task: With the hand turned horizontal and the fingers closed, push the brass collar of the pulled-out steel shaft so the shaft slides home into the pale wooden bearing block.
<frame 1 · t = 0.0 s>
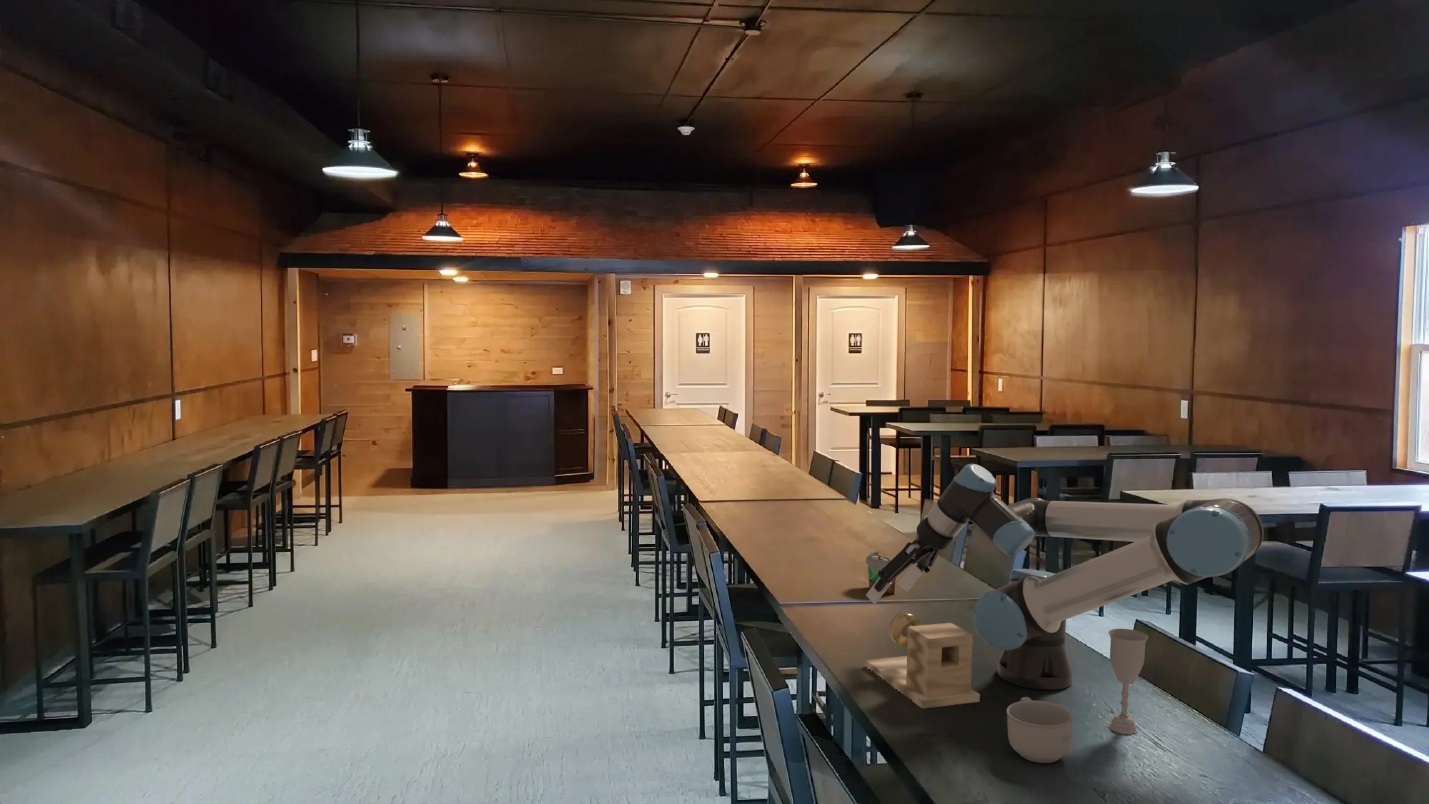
hand: (887, 593, 208), 15 cm above the table, tool tilted 35°, fingers open, 13 cm apart
chalice: (1123, 729, 175), on the table
shaft: (917, 636, 196), point 10 cm above the table, slide at 8.0 cm
teacup: (1036, 752, 164), on the table
food container: (876, 591, 267), on the table
bearing stand: (917, 681, 197), on the table
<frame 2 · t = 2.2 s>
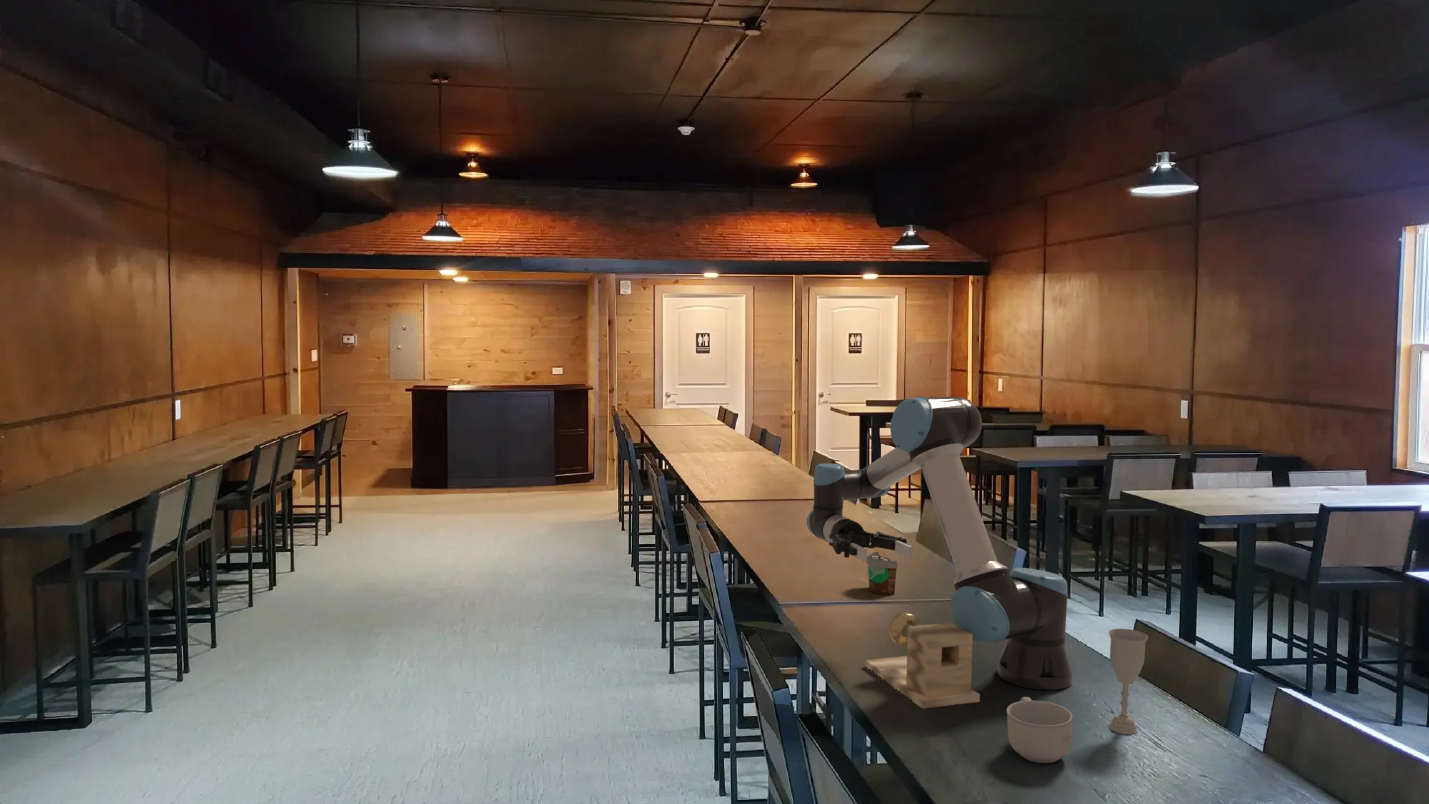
hand: (888, 554, 208), 24 cm above the table, tool horizontal, fingers open, 11 cm apart
nothing on the table moved.
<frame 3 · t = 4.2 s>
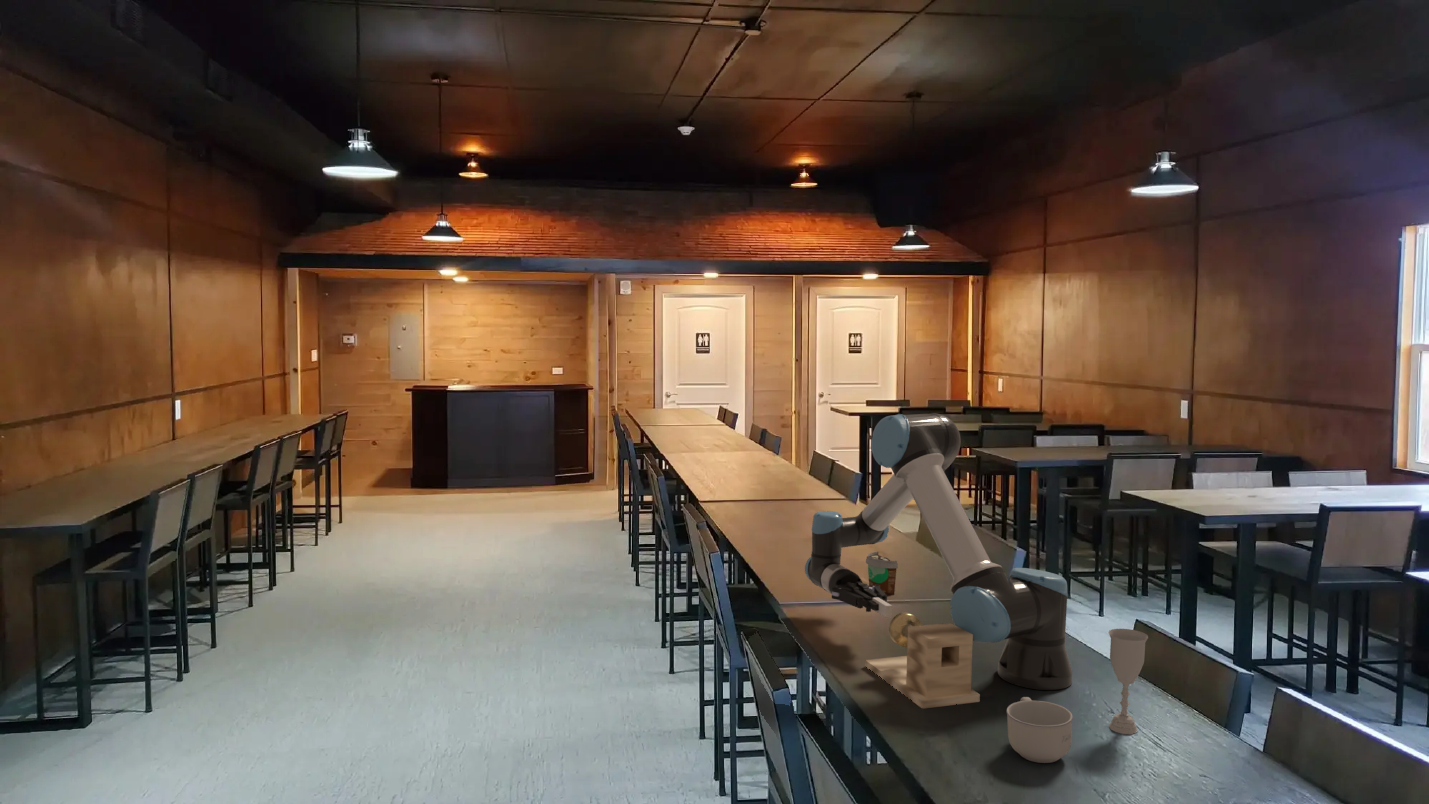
hand: (888, 611, 208), 11 cm above the table, tool horizontal, fingers closed
nothing on the table moved.
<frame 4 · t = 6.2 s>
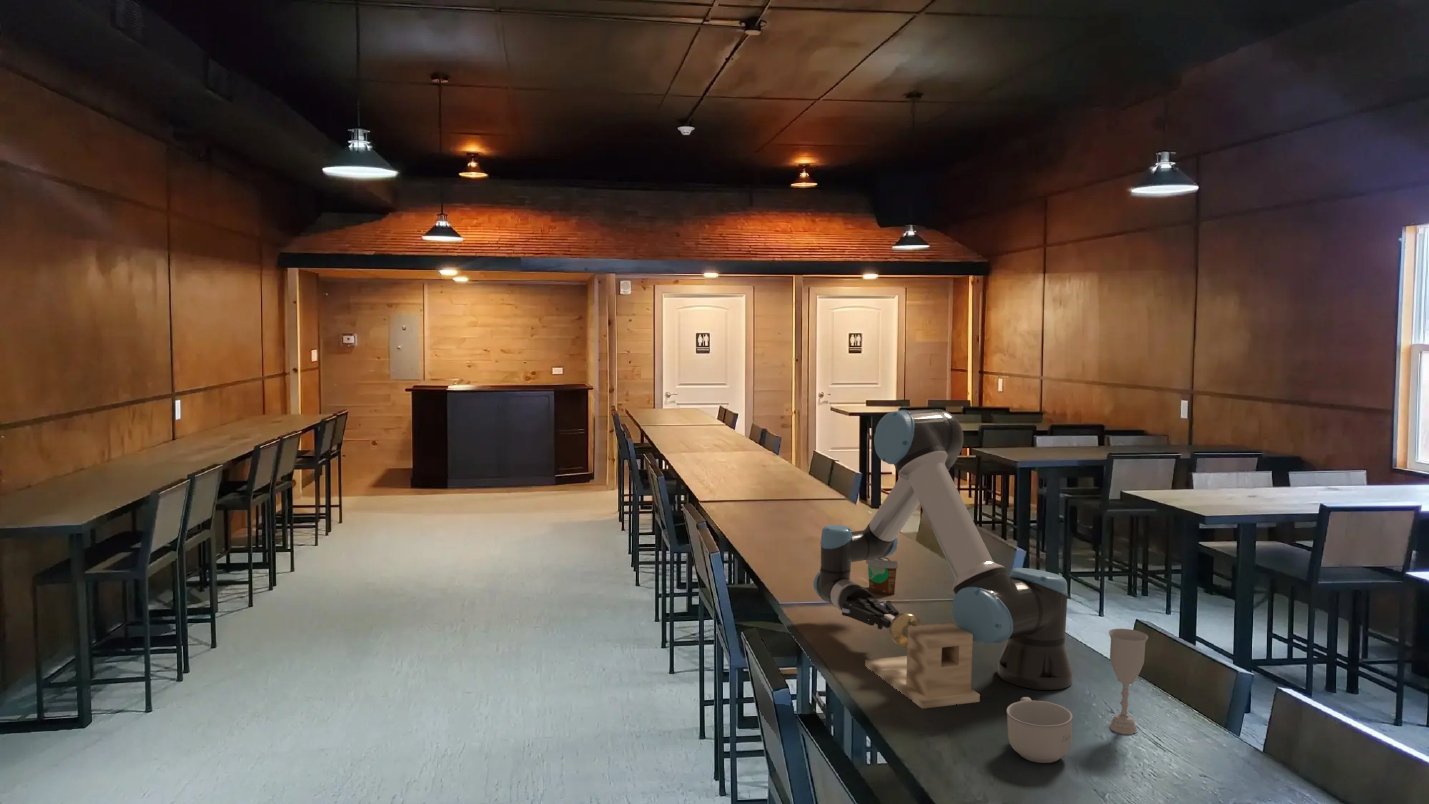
hand: (901, 628, 202), 9 cm above the table, tool horizontal, fingers closed
shaft: (918, 637, 196), point 10 cm above the table, slide at 7.7 cm, touching gripper
everything else where it was.
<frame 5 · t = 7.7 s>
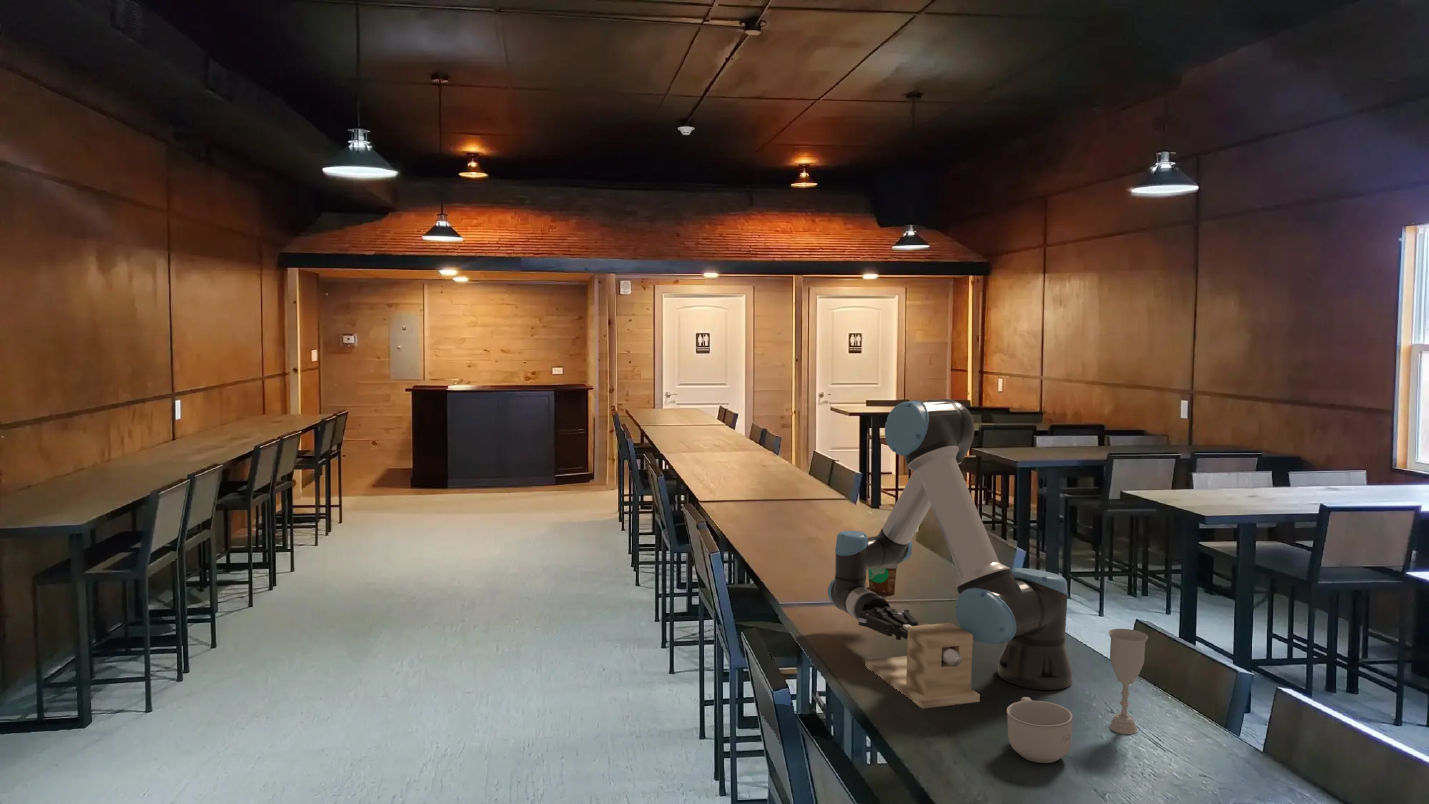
hand: (921, 640, 195), 9 cm above the table, tool horizontal, fingers closed
shaft: (938, 649, 189), point 10 cm above the table, slide at -0.2 cm, touching gripper
everything else where it was.
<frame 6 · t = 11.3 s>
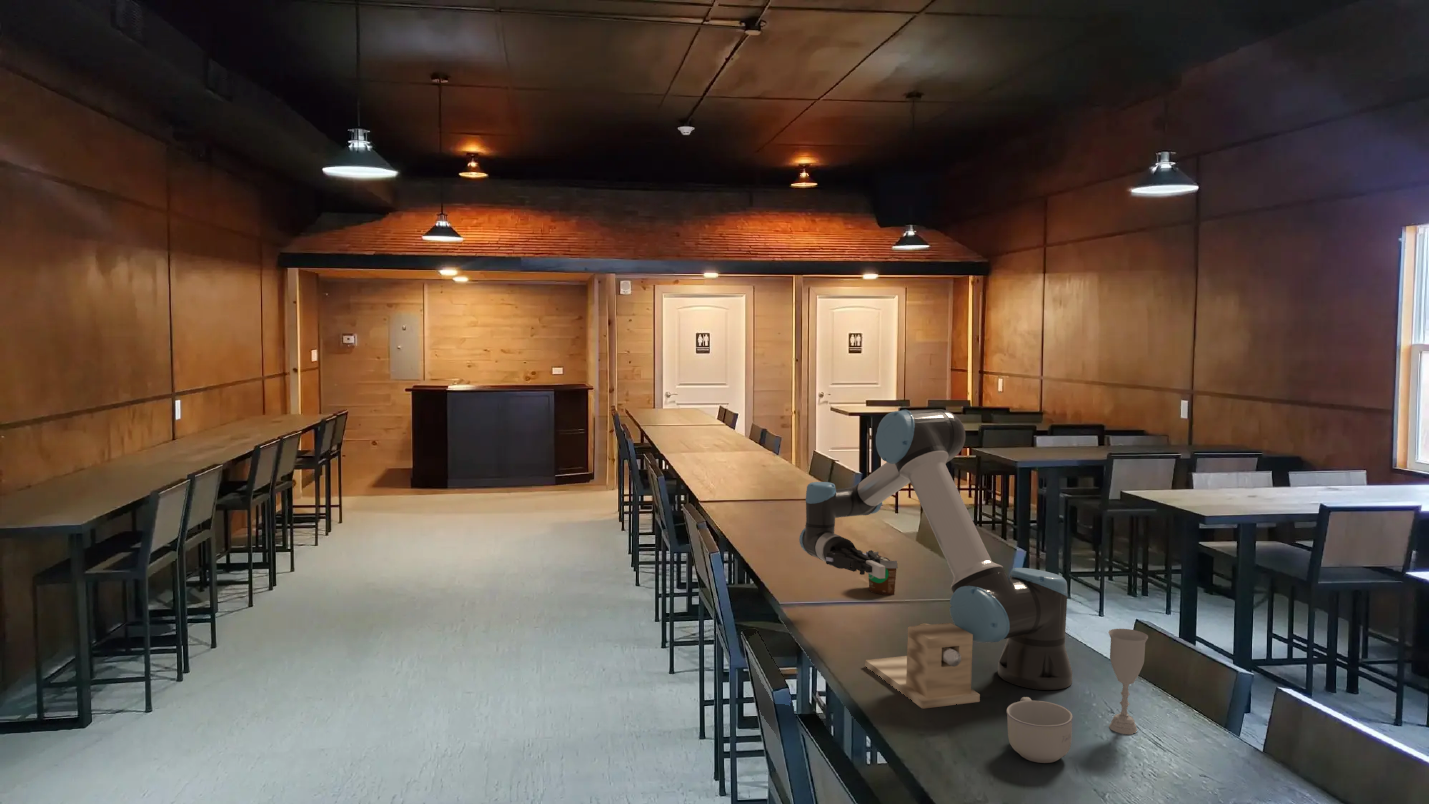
hand: (882, 572, 210), 19 cm above the table, tool horizontal, fingers closed
shaft: (938, 649, 189), point 10 cm above the table, slide at 0.0 cm
everything else where it was.
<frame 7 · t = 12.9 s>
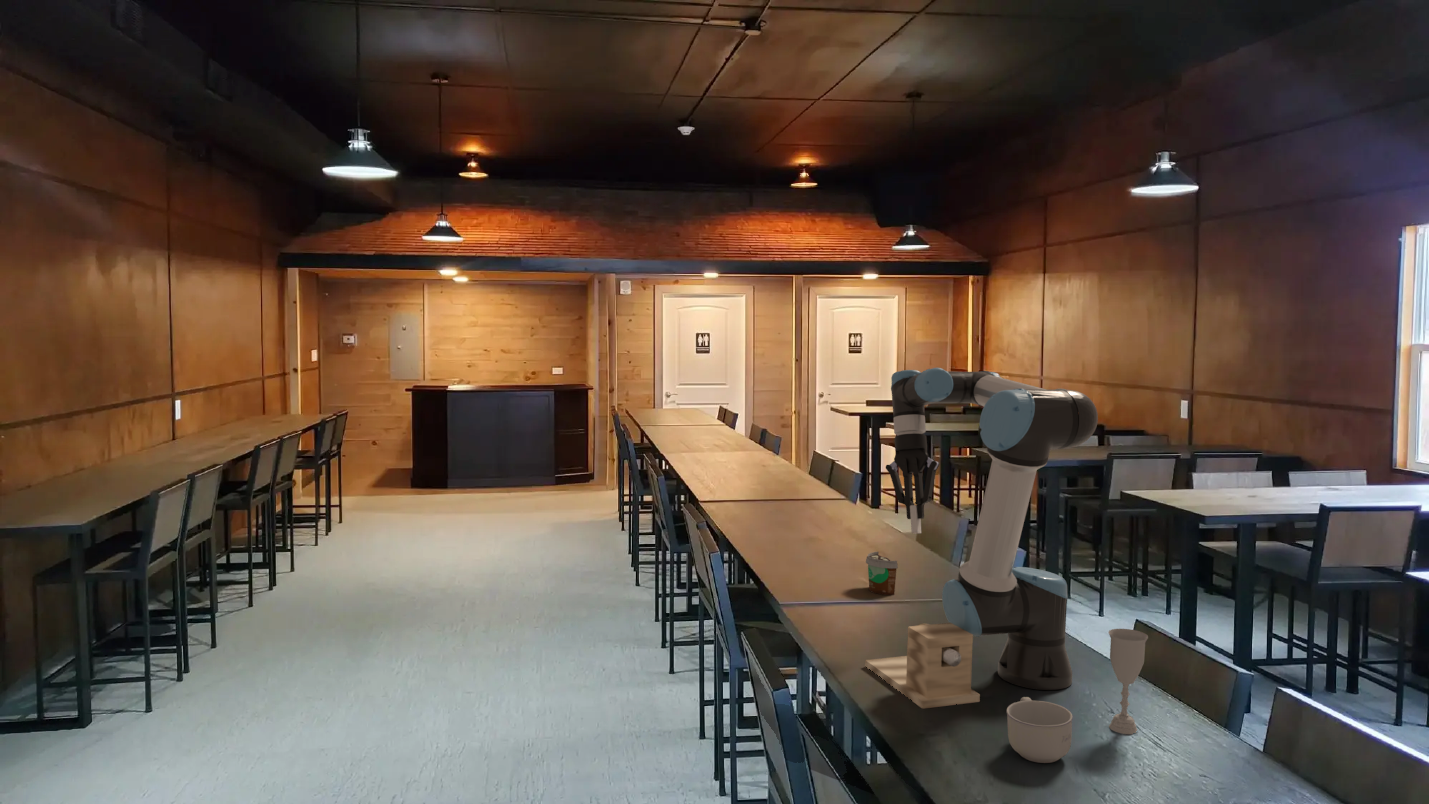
hand: (916, 533, 221), 26 cm above the table, tool pointing down, fingers closed
nothing on the table moved.
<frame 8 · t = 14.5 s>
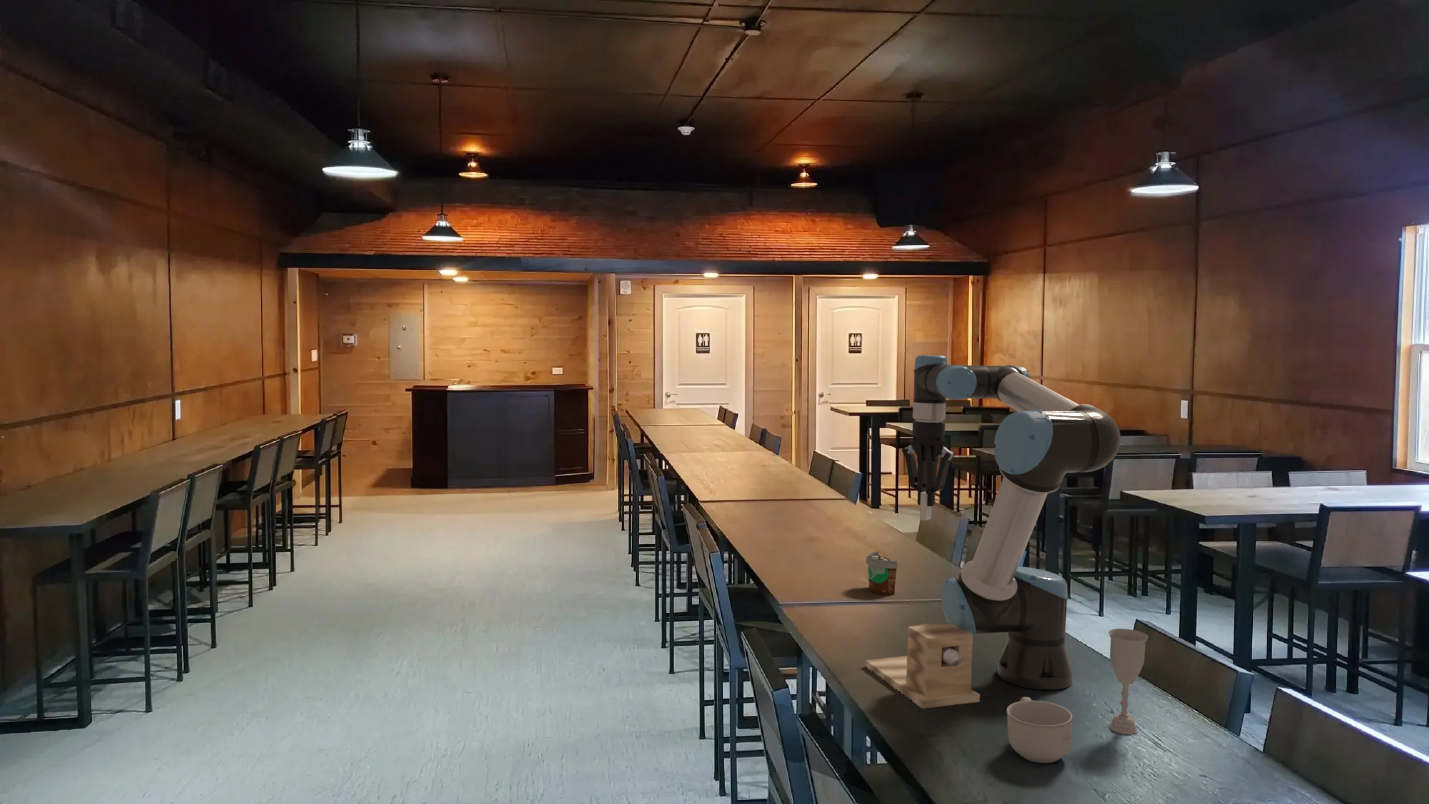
hand: (925, 519, 222), 29 cm above the table, tool pointing down, fingers closed
nothing on the table moved.
at the end: shaft slide at 0.0 cm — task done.
